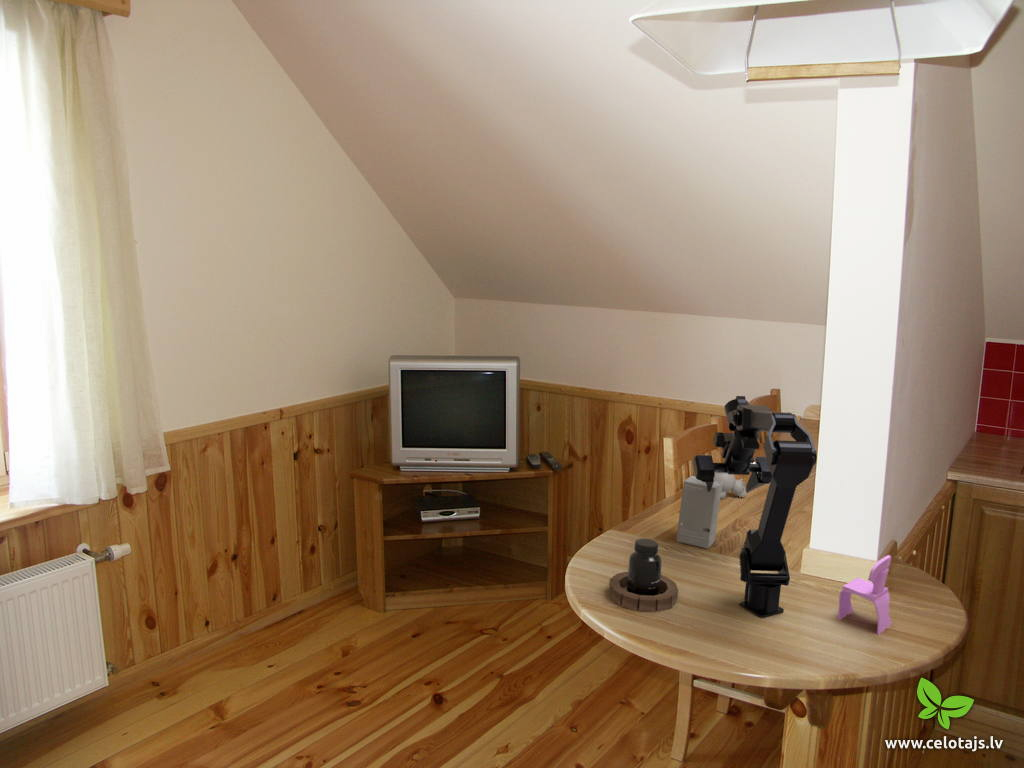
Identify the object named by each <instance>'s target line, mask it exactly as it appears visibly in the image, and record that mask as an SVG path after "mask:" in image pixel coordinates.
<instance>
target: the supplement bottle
mask: <svg viewBox="0 0 1024 768" xmlns="http://www.w3.org/2000/svg"><path fill="white" fill-rule="evenodd" d="M633 549H634V551H633V552H631V554H629V558H628V567H627V568H628V569H627V571H628V580H627V587H626V591H627V592H630V593H634V594H637V595H645V596H655V595H659V594H660V578H661V575H662V564H663V560H662V557H661V556H660V555H659V554H658V553H659V543H658V542H657V541H656V540H654V539H650V538H638V539H636V540H635V542H634V547H633Z"/></svg>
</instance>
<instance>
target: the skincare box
mask: <svg viewBox="0 0 1024 768" xmlns="http://www.w3.org/2000/svg"><path fill="white" fill-rule="evenodd" d="M682 485H683V487H682V491H681V492H682V495H681V500H680V501H681V502H680V509H679V516H678V524H677V532H676V542H677V543H680V544H685V545H690V546H693V547H697V548H698V547H699V548H704V549H709V548H710V547H711V546H712V544H713V543H715V540H716V534H717V525H718V517H719V510H720V501H721V498H720V496H721V489H722V483H721V482H717V481H714V483H713V485H712V488H711V490H710V492H708V490H707V485H706V483H705V482H702V481H701V480H698V479H696V476H695V475H691V476H689V477H688V478H686V479H684V481H683V484H682Z"/></svg>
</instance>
